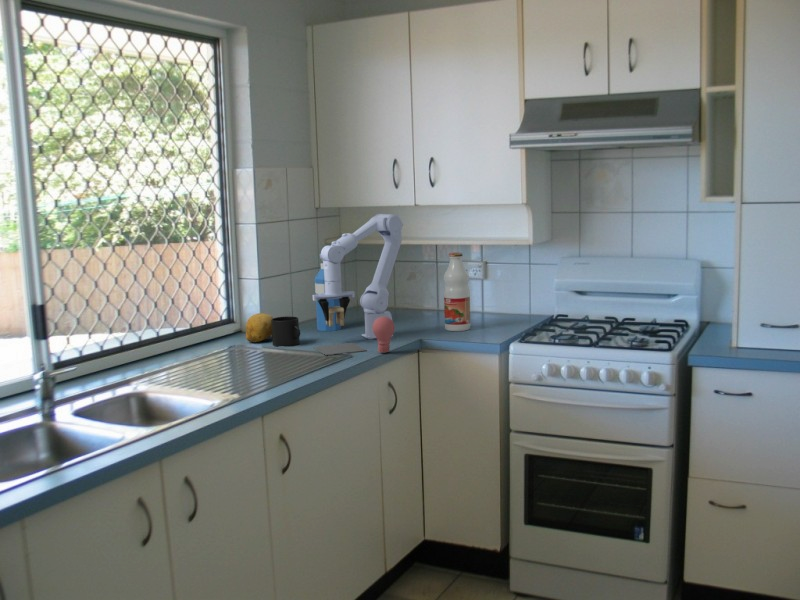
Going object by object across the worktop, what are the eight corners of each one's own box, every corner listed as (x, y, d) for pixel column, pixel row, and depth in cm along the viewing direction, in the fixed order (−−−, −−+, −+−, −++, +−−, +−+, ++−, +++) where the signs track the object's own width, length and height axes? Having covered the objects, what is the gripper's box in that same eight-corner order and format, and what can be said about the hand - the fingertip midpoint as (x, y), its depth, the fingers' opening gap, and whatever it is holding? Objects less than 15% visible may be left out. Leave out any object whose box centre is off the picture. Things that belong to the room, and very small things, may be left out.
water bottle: (344, 326, 327) (341, 261, 323) (338, 331, 318) (334, 264, 314) (320, 326, 328) (317, 262, 325) (313, 331, 319) (310, 264, 316)
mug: (290, 348, 289) (288, 322, 287) (266, 345, 296) (265, 319, 295) (310, 343, 296) (309, 318, 294) (287, 340, 304) (285, 315, 302)
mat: (353, 343, 293) (353, 342, 293) (366, 351, 280) (366, 349, 280) (314, 348, 288) (313, 347, 288) (325, 355, 275) (325, 354, 275)
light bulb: (396, 354, 273) (394, 318, 271) (374, 356, 272) (372, 319, 271) (394, 350, 280) (393, 314, 278) (373, 351, 279) (371, 315, 278)
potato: (239, 343, 301) (237, 315, 300) (259, 336, 312) (257, 310, 311) (263, 345, 297) (261, 316, 295) (283, 338, 308) (281, 311, 307)
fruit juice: (475, 329, 312) (474, 252, 307) (456, 332, 306) (453, 255, 302) (459, 325, 319) (457, 251, 315) (439, 329, 314) (437, 253, 310)
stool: (339, 323, 297) (339, 306, 296) (344, 325, 293) (343, 308, 292) (325, 324, 295) (325, 307, 295) (330, 326, 291) (329, 309, 290)
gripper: (349, 277, 298) (351, 315, 300) (309, 281, 293) (311, 320, 295) (355, 279, 292) (357, 318, 294) (314, 283, 286) (317, 323, 288)
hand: (334, 319), depth 294 cm, fingers closed on stool, 5 cm apart
